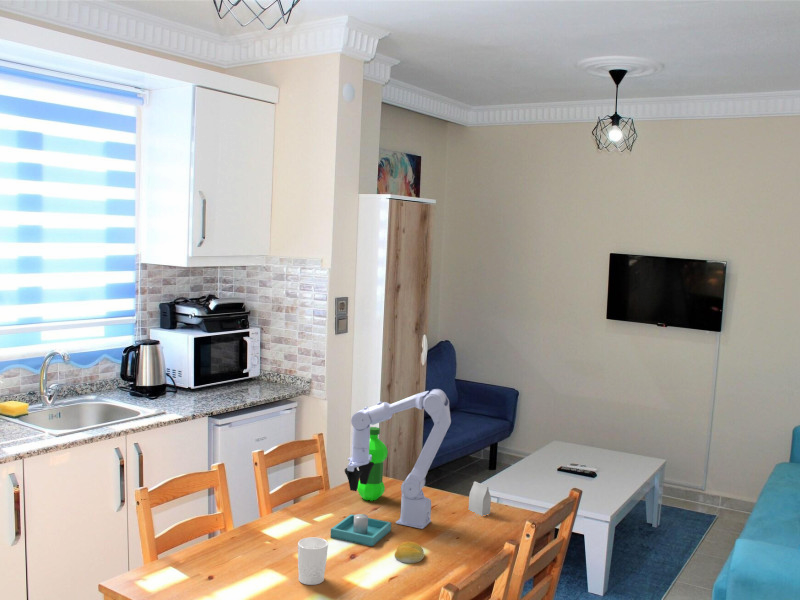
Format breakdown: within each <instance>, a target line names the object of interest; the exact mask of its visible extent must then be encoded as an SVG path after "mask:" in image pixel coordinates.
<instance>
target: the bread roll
mask: <svg viewBox="0 0 800 600" xmlns="http://www.w3.org/2000/svg"><path fill="white" fill-rule="evenodd" d="M424 557H425V551H424V549H423V547H422V546H421V544H418V543H417V542H414V541H403V542H402V543H401V544H399V545H398V546H397V547H396V551H395V552H394V558H395V559H396V560H397V561H399V562H402V563H404V564H414V563H419V562H421V561H422V560H423V559H424Z"/></svg>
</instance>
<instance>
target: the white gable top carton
mask: <svg viewBox="0 0 800 600" xmlns="http://www.w3.org/2000/svg"><path fill="white" fill-rule="evenodd" d="M491 503H492V498H491V493H490V490H489V486H487V485H484V484H482V483H479V482H478V481H473V484H472V486H471V489H470V491H469V496H468V510H470V511H472V512H475V513H476V514H475V513H474V514H475V515H477V514H479V515H481V516H483V515H487V514H490V515H491V506H492V505H491ZM470 511H469V512H470ZM472 512H471V513H472ZM479 515H478V516H479ZM481 516H480V517H481Z"/></svg>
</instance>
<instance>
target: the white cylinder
mask: <svg viewBox="0 0 800 600" xmlns="http://www.w3.org/2000/svg"><path fill="white" fill-rule="evenodd" d="M353 515H354V527H353V533H358V534H363V535H365V534H367V533H368V518H369V515H367V514H365V513H356V514H353Z"/></svg>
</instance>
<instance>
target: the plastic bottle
mask: <svg viewBox="0 0 800 600" xmlns="http://www.w3.org/2000/svg"><path fill="white" fill-rule="evenodd" d="M380 433H381V428H380V427H377V426H370V443H369V455H372V460H371V461H370V462H373V463H374V466H373V468H372V469H371V472H370V474H369V478H368V482H367V484H366V485H365V484H360V479H359V483H358V489H357V493H358V494H359V496H360V497H361V498H362V499H363V500H365V501H368V500H370V501H369V502H371V501H372V502H373V500H374V501H377V500H378V499H379V498H380V497H382V495H383V494H385V489H386V487H385V483H384V482H383V477H384V476H383V475H384V462H385V460H386V459H387V458H388V451H389V450H388V447H387V446H386V445H385V443H384V442H383V441H382V440H380V439H379V435H380Z"/></svg>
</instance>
